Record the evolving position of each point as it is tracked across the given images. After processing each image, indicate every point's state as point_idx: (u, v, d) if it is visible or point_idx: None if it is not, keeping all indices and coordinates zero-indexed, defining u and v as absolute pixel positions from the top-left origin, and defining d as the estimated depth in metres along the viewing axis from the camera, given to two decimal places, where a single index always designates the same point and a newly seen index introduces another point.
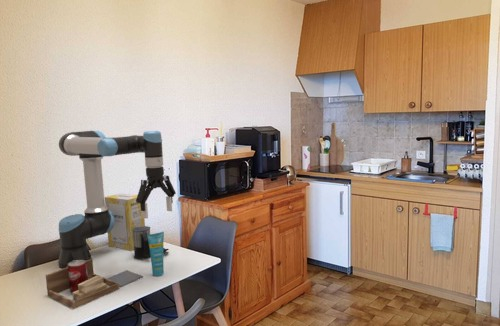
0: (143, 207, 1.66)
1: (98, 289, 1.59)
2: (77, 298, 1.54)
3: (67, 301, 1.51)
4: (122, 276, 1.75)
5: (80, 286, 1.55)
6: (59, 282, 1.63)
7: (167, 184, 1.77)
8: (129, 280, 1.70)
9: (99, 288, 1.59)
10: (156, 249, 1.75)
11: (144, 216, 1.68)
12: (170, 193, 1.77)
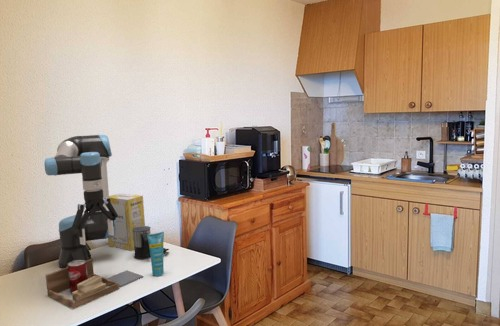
0: (80, 233, 1.57)
1: (98, 289, 1.59)
2: (77, 298, 1.54)
3: (67, 301, 1.51)
4: (122, 276, 1.75)
5: (79, 286, 1.55)
6: (59, 282, 1.63)
7: (108, 207, 1.69)
8: (129, 280, 1.70)
9: (98, 288, 1.60)
10: (156, 249, 1.75)
11: (81, 242, 1.59)
12: (111, 216, 1.69)
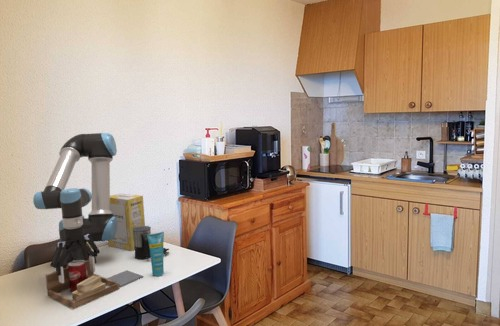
0: (58, 271, 1.56)
1: (97, 289, 1.60)
2: (77, 298, 1.54)
3: (67, 301, 1.51)
4: (122, 276, 1.75)
5: (79, 286, 1.55)
6: (59, 282, 1.63)
7: (90, 243, 1.67)
8: (129, 280, 1.70)
9: (98, 288, 1.60)
10: (156, 249, 1.75)
11: (60, 280, 1.57)
12: (93, 253, 1.67)
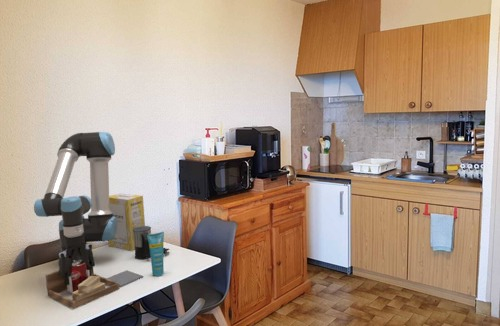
0: (67, 281, 1.59)
1: (97, 289, 1.60)
2: (77, 298, 1.54)
3: (67, 301, 1.51)
4: (122, 276, 1.75)
5: (81, 286, 1.54)
6: (59, 282, 1.63)
7: (88, 254, 1.67)
8: (129, 280, 1.70)
9: (98, 287, 1.60)
10: (156, 249, 1.75)
11: (69, 290, 1.61)
12: (88, 265, 1.66)
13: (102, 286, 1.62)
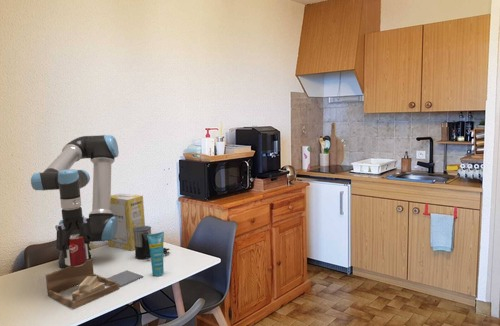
0: (64, 254, 1.58)
1: (97, 288, 1.60)
2: (77, 298, 1.54)
3: (67, 301, 1.51)
4: (122, 276, 1.75)
5: (82, 286, 1.54)
6: (59, 282, 1.63)
7: (86, 227, 1.65)
8: (129, 280, 1.70)
9: (98, 287, 1.60)
10: (156, 249, 1.75)
11: (66, 263, 1.59)
12: (86, 239, 1.65)
13: (101, 286, 1.62)
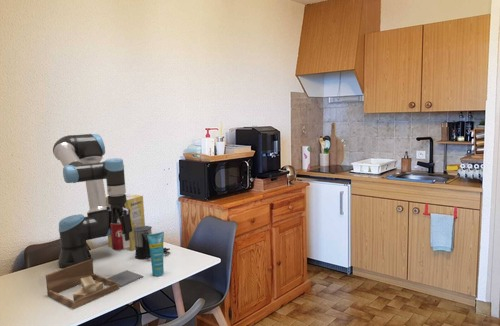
0: None
1: (97, 288, 1.61)
2: (80, 298, 1.53)
3: (67, 301, 1.51)
4: (122, 276, 1.75)
5: (88, 286, 1.55)
6: (59, 282, 1.63)
7: None
8: (129, 280, 1.70)
9: (97, 287, 1.61)
10: (156, 249, 1.75)
11: None
12: (123, 229, 1.67)
13: (100, 285, 1.63)
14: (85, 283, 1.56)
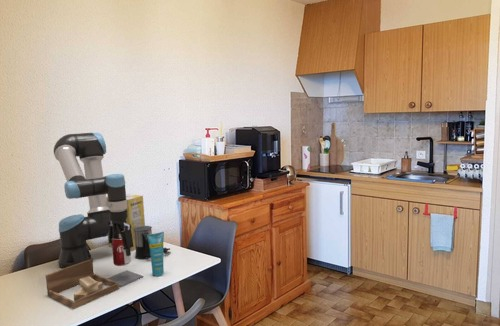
0: None
1: None
2: None
3: (67, 301, 1.51)
4: (122, 276, 1.75)
5: (91, 285, 1.55)
6: (59, 282, 1.63)
7: None
8: (129, 280, 1.70)
9: None
10: (156, 249, 1.75)
11: None
12: (124, 245, 1.68)
13: (100, 285, 1.63)
14: (87, 283, 1.56)
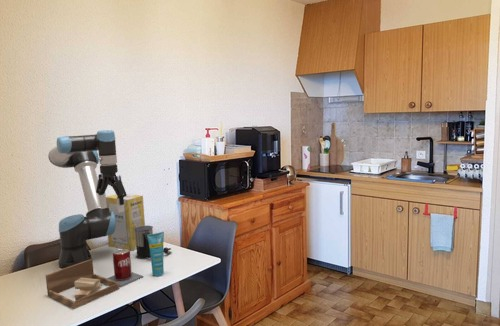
0: (100, 198, 1.85)
1: None
2: None
3: (67, 301, 1.51)
4: None
5: (95, 283, 1.57)
6: (59, 282, 1.63)
7: None
8: (129, 280, 1.70)
9: None
10: (156, 249, 1.75)
11: None
12: (117, 194, 1.75)
13: None
14: (88, 282, 1.57)
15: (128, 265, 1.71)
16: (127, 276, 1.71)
